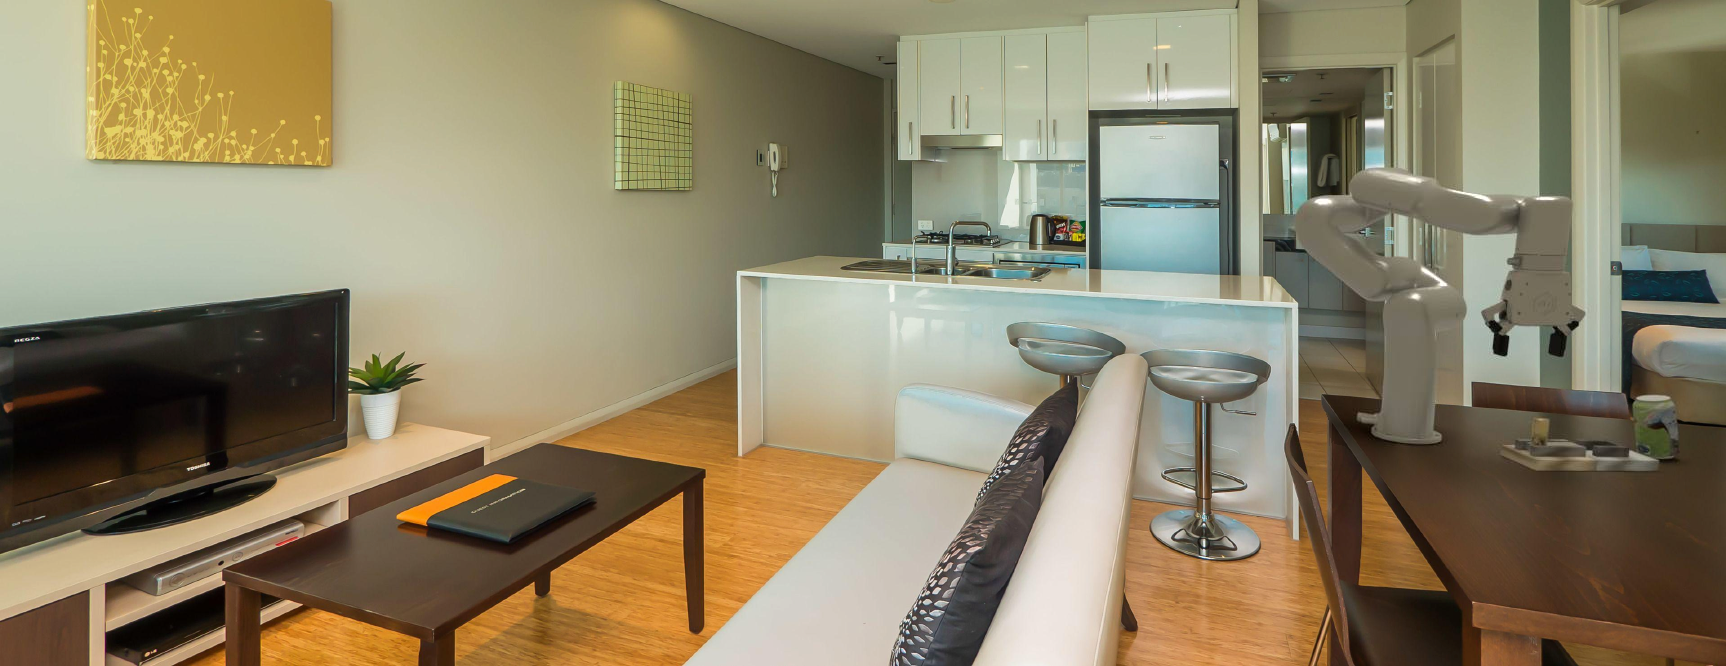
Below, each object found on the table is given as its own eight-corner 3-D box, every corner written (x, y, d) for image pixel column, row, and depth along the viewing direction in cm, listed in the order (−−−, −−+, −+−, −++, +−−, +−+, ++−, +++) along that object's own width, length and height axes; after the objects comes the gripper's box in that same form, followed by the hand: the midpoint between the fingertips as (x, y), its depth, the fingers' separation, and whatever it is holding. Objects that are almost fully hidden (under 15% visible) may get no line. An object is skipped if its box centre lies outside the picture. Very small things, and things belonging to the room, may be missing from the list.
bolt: (1534, 453, 161) (1537, 420, 160) (1525, 450, 163) (1528, 417, 162) (1579, 453, 160) (1582, 420, 159) (1570, 450, 163) (1573, 417, 162)
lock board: (1535, 470, 158) (1537, 450, 157) (1500, 454, 168) (1502, 436, 167) (1658, 471, 156) (1660, 451, 155) (1615, 455, 166) (1617, 436, 165)
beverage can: (1686, 462, 160) (1694, 400, 159) (1641, 461, 162) (1648, 399, 160) (1663, 452, 167) (1670, 392, 165) (1619, 451, 168) (1626, 392, 166)
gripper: (1501, 265, 154) (1490, 358, 157) (1605, 265, 152) (1592, 359, 155) (1476, 262, 161) (1466, 351, 164) (1575, 262, 159) (1563, 352, 162)
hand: (1527, 355), depth 159 cm, fingers open, 9 cm apart
